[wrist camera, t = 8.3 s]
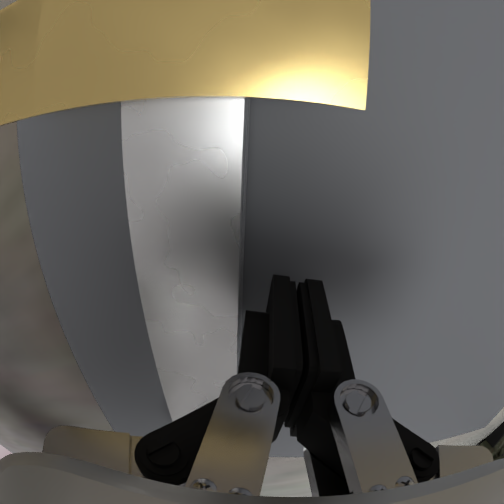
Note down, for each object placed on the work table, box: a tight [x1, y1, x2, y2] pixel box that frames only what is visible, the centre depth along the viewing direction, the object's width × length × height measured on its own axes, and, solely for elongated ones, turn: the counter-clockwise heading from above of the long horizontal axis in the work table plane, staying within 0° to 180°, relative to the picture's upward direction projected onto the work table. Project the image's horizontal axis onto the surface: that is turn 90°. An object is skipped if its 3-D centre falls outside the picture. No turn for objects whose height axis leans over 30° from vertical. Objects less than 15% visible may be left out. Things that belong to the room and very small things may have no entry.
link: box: [121, 97, 250, 422], centre depth 9 cm, size 24×5×5 cm, turn 178°
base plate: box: [17, 0, 504, 457], centre depth 12 cm, size 29×32×2 cm
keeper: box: [0, 0, 370, 126], centre depth 6 cm, size 3×10×4 cm, turn 87°
